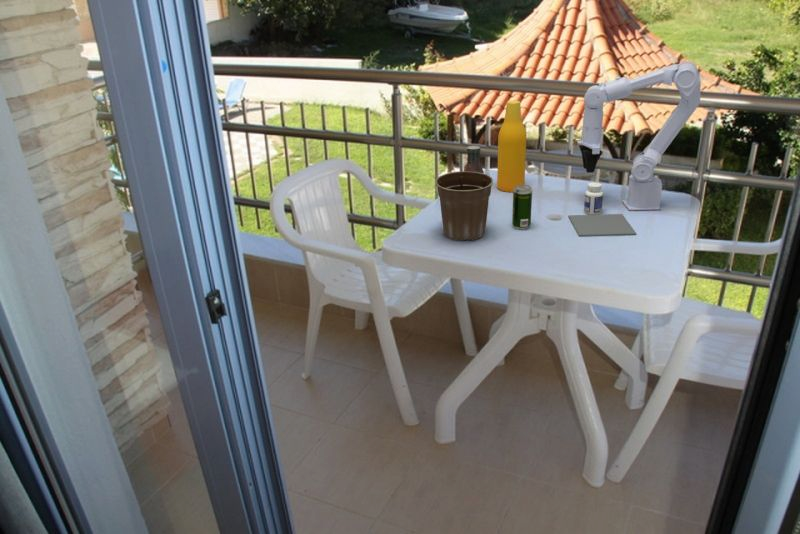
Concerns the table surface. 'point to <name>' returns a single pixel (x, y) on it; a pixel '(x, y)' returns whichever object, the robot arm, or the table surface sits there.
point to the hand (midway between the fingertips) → (588, 170)
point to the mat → (601, 225)
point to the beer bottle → (511, 149)
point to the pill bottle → (593, 199)
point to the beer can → (522, 207)
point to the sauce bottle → (473, 160)
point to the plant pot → (464, 203)
